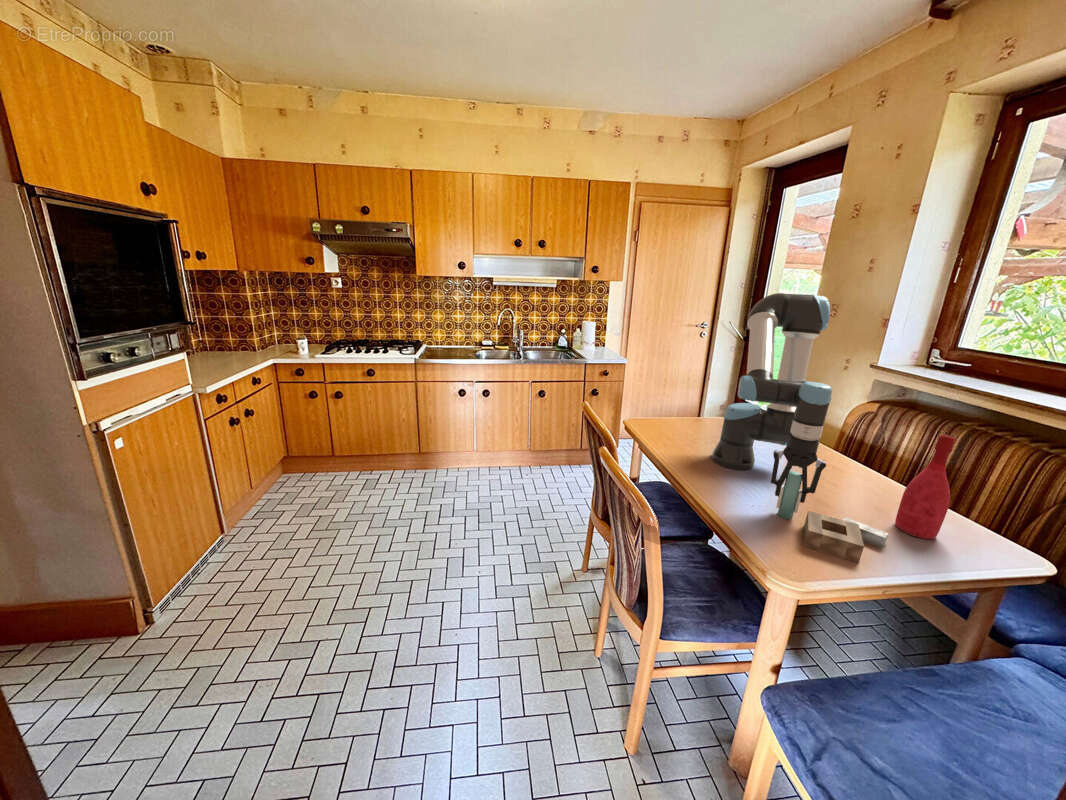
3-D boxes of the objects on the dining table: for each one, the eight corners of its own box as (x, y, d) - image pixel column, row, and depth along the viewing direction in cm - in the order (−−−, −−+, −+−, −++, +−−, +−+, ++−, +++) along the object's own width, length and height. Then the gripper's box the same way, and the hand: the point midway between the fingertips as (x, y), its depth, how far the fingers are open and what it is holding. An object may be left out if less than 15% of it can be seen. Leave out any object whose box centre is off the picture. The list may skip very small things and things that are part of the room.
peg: (777, 516, 129) (787, 474, 125) (777, 510, 132) (787, 469, 128) (792, 520, 127) (803, 478, 123) (792, 514, 130) (803, 473, 126)
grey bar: (838, 532, 123) (841, 521, 122) (842, 527, 125) (845, 517, 124) (881, 549, 116) (885, 538, 114) (884, 544, 118) (888, 533, 117)
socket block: (804, 546, 115) (808, 530, 113) (804, 525, 125) (808, 510, 123) (858, 563, 109) (864, 546, 107) (854, 540, 119) (858, 524, 117)
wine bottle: (884, 521, 129) (914, 428, 121) (914, 521, 130) (946, 429, 121) (915, 541, 120) (950, 442, 111) (946, 540, 121) (983, 442, 112)
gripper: (770, 433, 123) (754, 504, 130) (841, 447, 115) (820, 523, 121) (771, 426, 129) (756, 494, 136) (839, 439, 121) (819, 511, 128)
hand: (786, 508), depth 129 cm, fingers closed on peg, 4 cm apart
